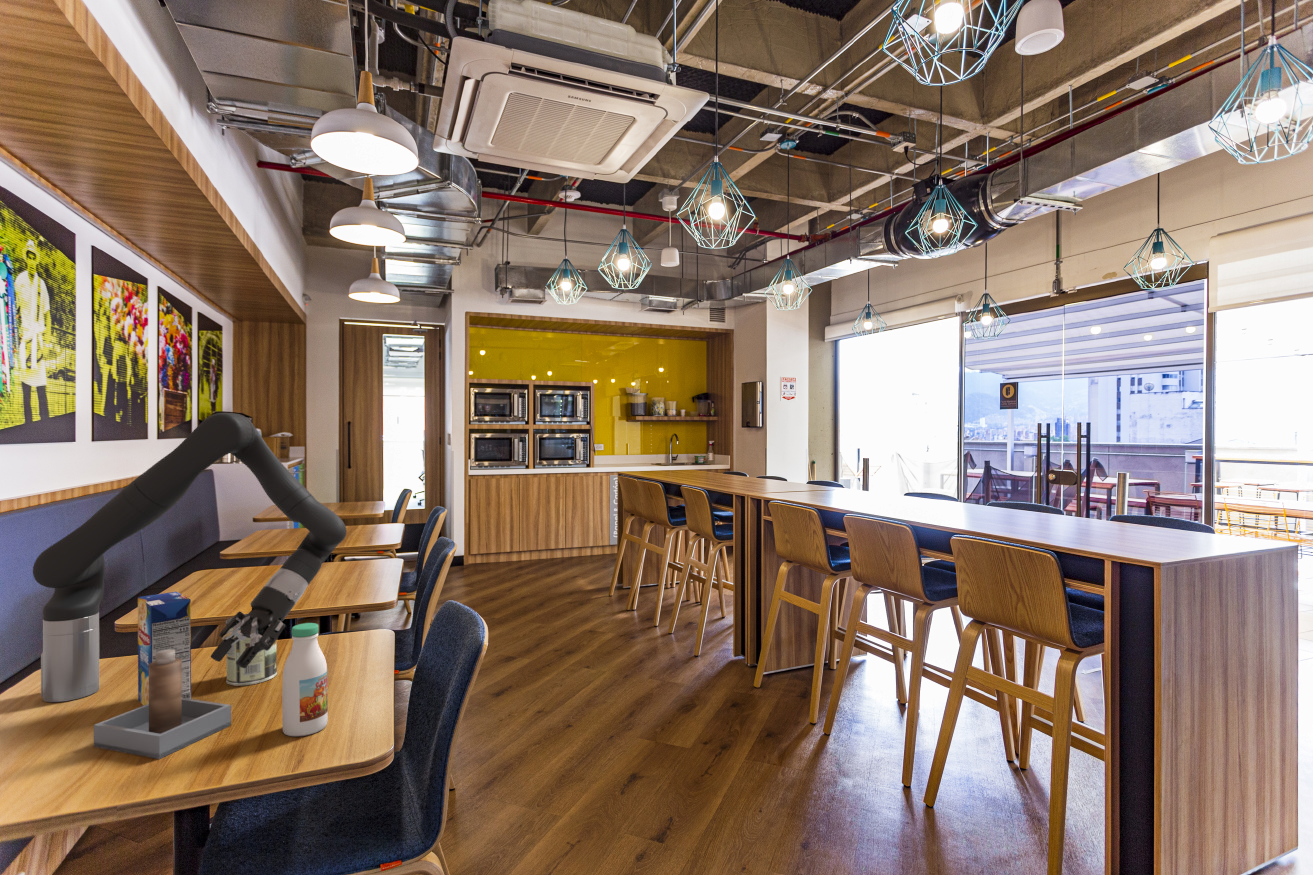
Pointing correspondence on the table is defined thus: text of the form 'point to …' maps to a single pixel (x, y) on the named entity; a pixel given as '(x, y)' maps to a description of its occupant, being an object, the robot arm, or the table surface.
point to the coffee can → (250, 664)
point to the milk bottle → (305, 684)
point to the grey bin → (136, 739)
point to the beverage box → (163, 636)
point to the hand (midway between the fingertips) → (227, 662)
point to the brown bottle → (165, 692)
